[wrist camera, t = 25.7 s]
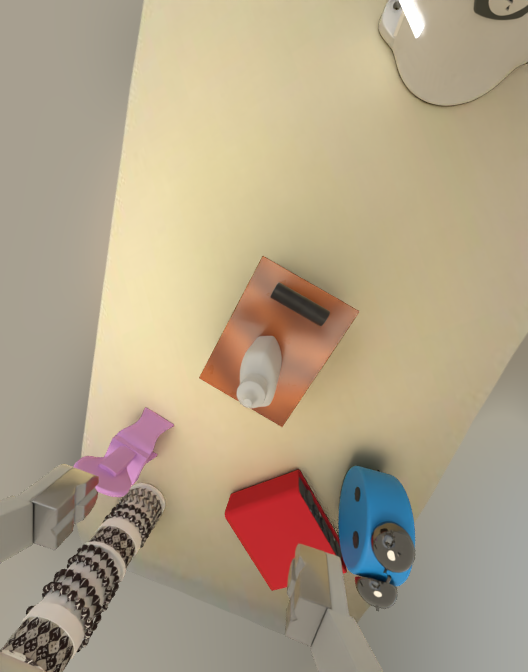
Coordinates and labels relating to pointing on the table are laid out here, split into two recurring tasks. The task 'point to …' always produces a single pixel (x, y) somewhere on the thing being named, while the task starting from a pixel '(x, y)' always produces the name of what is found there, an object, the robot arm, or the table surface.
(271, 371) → the eye dropper bottle
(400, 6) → the robot arm
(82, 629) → the decorative candle
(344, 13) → the table surface
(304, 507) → the red device housing
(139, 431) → the toy chair
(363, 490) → the alarm clock
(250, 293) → the lid
